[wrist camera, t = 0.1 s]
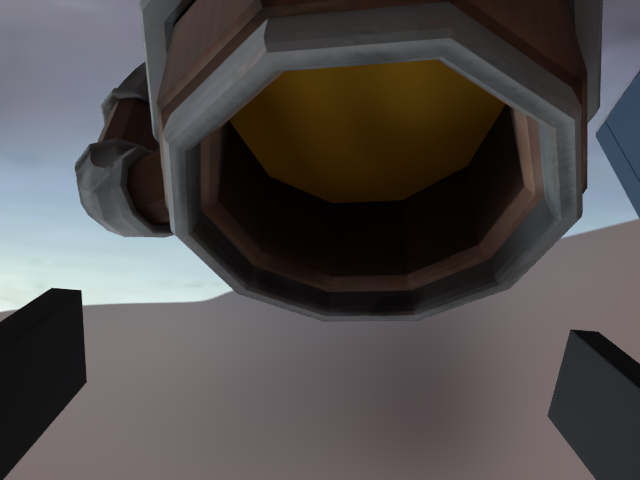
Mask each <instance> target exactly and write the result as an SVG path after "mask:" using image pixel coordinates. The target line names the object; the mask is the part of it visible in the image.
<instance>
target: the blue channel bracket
mask: <svg viewBox="0 0 640 480" xmlns="http://www.w3.org/2000/svg"><path fill="white" fill-rule="evenodd" d="M596 138H597V139H598V141H599V143H600V145H601V147H602V149H603V151H604V153H605V155H606V156H607V158H608V160H609V162H610V164H611V166H612V168H613V170H614V171H615V173H616V175H617V177H618V179H619V181H620V183H621V185H622V187H623V188H624V190H625V192H626V194H627V196H628V198H629V200H630V202H631V203H632V205H633V207H634V209H635V211H636V213H637V215H638V217H639V218H640V72H639V73H638V75H637V76H636V77H635V79H634V80H633V82H632V83H631V85H630V86H629V88H628V89H627V90H626V92H625V93H624V95H623V96H622V98H621V99H620V101H619V102H618V103H617V105H616V106H615V108H614V109H613V111H612V112H611V113H610V115H609V116H608V118H607V119H606V122H605V123H604V124H603V125H602V127H601V128H600V130H599V131H598V133H597V134H596Z"/></svg>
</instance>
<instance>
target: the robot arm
mask: <svg viewBox="0 0 640 480" xmlns="http://www.w3.org/2000/svg"><path fill="white" fill-rule="evenodd" d="M86 382H87V381H86V363H85V346H84V329H83V312H82V293H81V290H70V289H58V288H51V289H49V290H48V291H46V292H45V293H43V294H42V295H40V296H39V297H37V298H36V299H34V300H33V301H31V302H30V303H28V304H27V305H25V306H24V307H22V308H21V309H19V310H18V311H16V312H15V313H13V314H12V315H10V316H9V317H7V318H6V319H4V320H3V321H1V322H0V480H3V479H4V478H5V477H6V476H7V475H8V473H9V472H10V471H11V470H12V469H13V468H14V466H15V465H16V464H17V463H18V462H19V461H20V459H21V458H22V457H23V456H24V455H25V453H26V452H27V451H28V450H29V449H30V448H31V446H32V445H33V444H34V443H35V442H36V441H37V440H38V438H39V437H40V436H41V435H42V434H43V432H44V431H45V430H46V429H47V428H48V427H49V426H50V424H51V423H52V422H53V421H54V420H55V418H56V417H57V416H58V415H59V414H60V413H61V411H62V410H63V409H64V408H65V407H66V406H67V404H68V403H69V402H70V401H71V400H72V398H73V397H74V396H75V395H76V394H77V393H78V392H79V390H80V389H81V388H82V387H83V386H84V384H85V383H86ZM548 417H549V418H550V420H551V421H552V423H553V424H554V425H555V427H556V428H557V429H558V430H559V432H560V433H561V434H562V436H563V437H564V438H565V440H566V441H567V442H568V443H569V445H570V446H571V447H572V449H573V450H574V451H575V453H576V454H577V455H578V457H579V458H580V459H581V461H582V462H583V463H584V465H585V466H586V467H587V468H588V470H589V471H590V472H591V474H592V475H593V476H594V478H595V479H596V480H640V364H639V363H638V362H636V361H635V360H634V359H632V358H631V357H630V356H629V355H627V354H626V353H625V352H623V351H622V350H621V349H620V348H618V347H617V346H616V345H615V344H613V343H612V342H611V341H609V340H608V339H607V338H606V337H604V336H603V335H602V334H600V333H599V332H595V331H582V330H570V334H569V338H568V341H567V345H566V349H565V352H564V356H563V360H562V364H561V367H560V371H559V375H558V379H557V383H556V387H555V390H554V394H553V398H552V402H551V405H550V409H549V413H548Z"/></svg>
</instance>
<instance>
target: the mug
mask: <svg viewBox="0 0 640 480" xmlns="http://www.w3.org/2000/svg"><path fill="white" fill-rule="evenodd" d="M602 5H603V0H141V1H140V3H139V7H140V17H141V26H142V35H143V45H144V54H145V62H144V63H143V64H141V65H140V66H139V67H137V68H136V69H135V70H134V71H133V72H132V73H131V74H130V75H129V76H128V77H127V78H126V79H125V80H124V81H123V82H122V83H121V85H120V86H119V87H118V88H114V89H113V90H112V92H111V93H110V94H109V95H108V97H107V98H106V99H105V100H104V102H103V103H102V105H101V109H102V114H103V118H104V123H105V125H104V128H103V130H102V133H101V135H100V137H99V140H98V142H97V143H93V144H89V146H88V147H87V149H86V150H85V151H84V153H83V154H82V155H81V157H80V158H79V159H78V161H77V162H76V165H75V172H76V176H77V185H78V190H79V196H80V201H81V204H82V206H83V207H84V209H85V211H86V212H87V214H88V215H89V216H90V217H91V218H93V219H94V220H95V221H96V222H98V223H99V224H100V225H101V226H103V227H104V228H105V229H107V230H108V231H110V232H113V233H116V234H118V235H121V236H123V237H168V236H172V235H176V236H177V237H178V238H179V239H180V240H181V241H182V242H183V243H184V244H185V245H186V246H187V247H188V248H189V249H190V250H192V251H193V252H194V253H195V254H196V255H197V256H198V257H199V258H200V259H201V260H202V261H203V262H204V263H205V264H206V265H208V266H209V267H210V268H211V269H212V270H213V271H214V272H215V273H216V274H217V275H218V276H219V277H220V278H221V279H222V280H224V281H225V282H226V283H227V284H228V285H229V286H230V287H231V288H232V289H233V290H234V291H235V292H236V293H238V294H240V295H243V296H246V297H249V298H252V299H256V300H259V301H262V302H265V303H268V304H271V305H274V306H277V307H280V308H283V309H287V310H290V311H293V312H296V313H299V314H302V315H305V316H308V317H311V318H314V319H318V320H321V321H324V322H329V321H330V322H333V321H334V322H335V321H337V322H338V321H418V320H421V319H424V318H427V317H430V316H432V315H435V314H438V313H441V312H444V311H447V310H449V309H453V308H455V307H458V306H461V305H464V304H467V303H470V302H472V301H475V300H478V299H481V298H484V297H487V296H489V295H493V294H495V293H498V292H501V291H504V290H507V289H509V288H511V287H512V286H513V285H514V284H515V283H516V282H517V281H518V280H519V279H520V278H521V277H522V276H523V275H524V274H525V273H526V272H527V271H528V270H529V269H530V268H531V267H532V266H533V265H534V264H535V263H536V262H537V261H538V260H539V259H540V258H541V257H542V256H543V255H544V254H545V253H546V252H547V251H548V250H549V249H550V248H551V247H552V246H553V245H554V244H555V243H556V242H557V241H558V240H559V239H560V238H561V237H562V236H563V235H564V234H565V233H566V232H567V231H568V230H569V229H570V228H571V227H572V226H573V225H574V224H575V223H576V222H577V221H578V220H579V219H580V218H581V216H582V213H583V210H582V194H583V193H584V192H585V190H586V189H587V124H588V122H589V121H590V120H591V119H592V118H593V116H594V115H595V114H596V113H597V111H598V109H599V107H600V81H601V43H602Z"/></svg>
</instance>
